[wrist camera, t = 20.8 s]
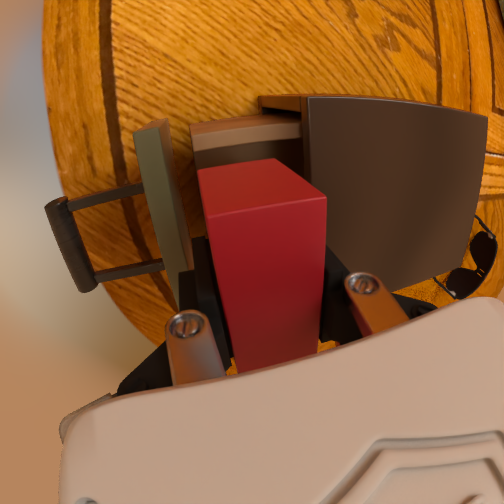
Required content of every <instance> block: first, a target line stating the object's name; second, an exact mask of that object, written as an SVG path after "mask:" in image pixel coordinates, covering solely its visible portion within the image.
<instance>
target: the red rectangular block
mask: <svg viewBox="0 0 504 504" xmlns="http://www.w3.org/2000/svg"><path fill="white" fill-rule="evenodd" d="M197 175H198V181H199V187H200V193H201V198H202V204H203V210H204V215H205V221H206V226H207V232H208V237H209V242H210V247H211V253H212V258H213V263H214V268H215V272H216V277H217V282H218V287H219V292H220V296H221V301H222V306H223V311H224V315H225V320H226V324H227V329H228V333H229V338H230V342H231V346H232V351H233V355H234V360H235V364H236V368H237V372H238V373H243V372H247V371H252V370H256V369H260V368H264V367H268V366H272V365H276V364H280V363H284V362H287V361H291V360H295V359H298V358H302V357H305V356H309V355H312V354H315V353H317V347H318V338H319V328H320V318H321V307H322V294H323V280H324V264H325V244H326V215H327V197H326V196H325V195H324V194H323V193H322V192H320V191H319V190H318V189H316V188H315V187H314V186H312V185H311V184H310V183H308V182H307V181H306V180H304V179H303V178H302V177H300V176H299V175H297V174H296V173H295V172H293V171H292V170H291V169H289V168H288V167H286V166H285V165H283V164H282V163H281V162H279V161H278V160H276V159H275V158H271V159H264V160H256V161H249V162H242V163H235V164H229V165H223V166H217V167H211V168H205V169H200V170H197Z"/></svg>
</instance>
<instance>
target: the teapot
mask: <svg viewBox="0 0 504 504" xmlns="http://www.w3.org/2000/svg"><path fill="white" fill-rule="evenodd" d="M499 4H500V8H501V12H502V16H503V20H504V0H499Z"/></svg>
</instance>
